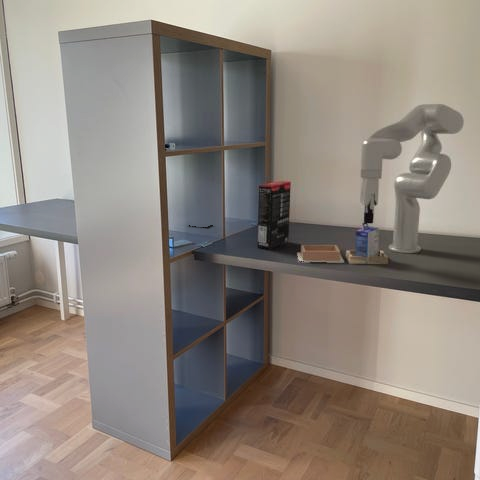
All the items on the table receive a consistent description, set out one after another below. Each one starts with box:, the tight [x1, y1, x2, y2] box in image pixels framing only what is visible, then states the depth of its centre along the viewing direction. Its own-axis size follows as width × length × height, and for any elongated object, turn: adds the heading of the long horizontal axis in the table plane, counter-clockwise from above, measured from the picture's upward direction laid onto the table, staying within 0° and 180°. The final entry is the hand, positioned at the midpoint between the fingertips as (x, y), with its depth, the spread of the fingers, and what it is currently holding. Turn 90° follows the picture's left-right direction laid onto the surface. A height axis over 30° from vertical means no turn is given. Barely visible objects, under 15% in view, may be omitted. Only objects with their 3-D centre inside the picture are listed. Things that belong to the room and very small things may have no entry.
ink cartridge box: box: [355, 222, 380, 265], centre depth 188 cm, size 10×6×14 cm, turn 142°
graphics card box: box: [256, 180, 292, 250], centre depth 211 cm, size 17×7×27 cm, turn 147°
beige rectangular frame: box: [345, 249, 389, 265], centre depth 190 cm, size 10×14×3 cm
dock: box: [296, 244, 345, 264], centre depth 192 cm, size 12×17×4 cm
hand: (368, 222), depth 186 cm, fingers closed
